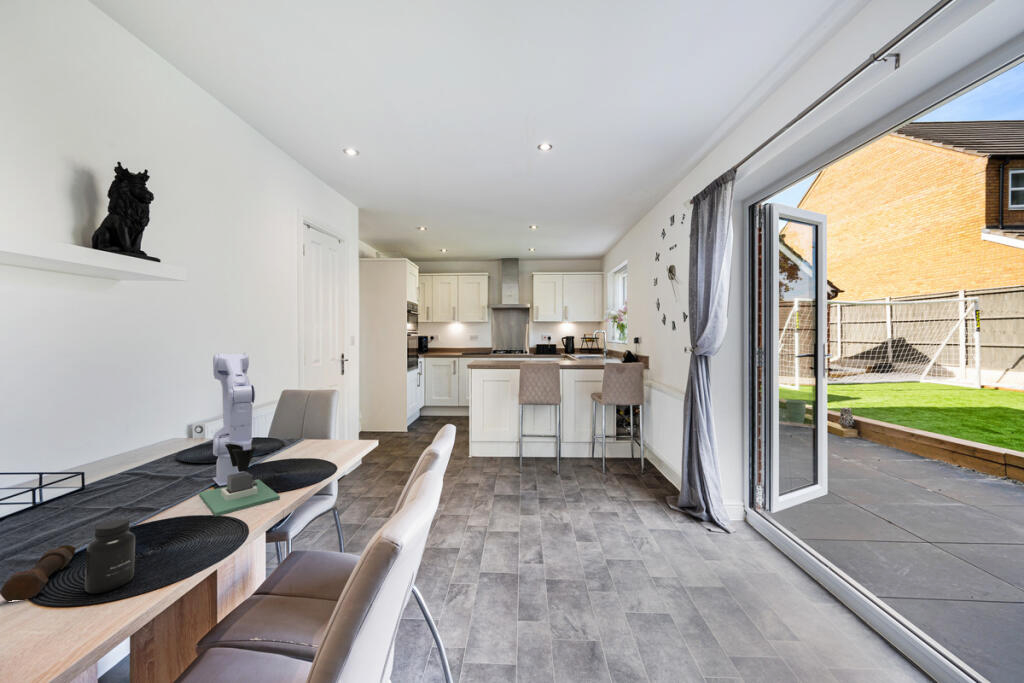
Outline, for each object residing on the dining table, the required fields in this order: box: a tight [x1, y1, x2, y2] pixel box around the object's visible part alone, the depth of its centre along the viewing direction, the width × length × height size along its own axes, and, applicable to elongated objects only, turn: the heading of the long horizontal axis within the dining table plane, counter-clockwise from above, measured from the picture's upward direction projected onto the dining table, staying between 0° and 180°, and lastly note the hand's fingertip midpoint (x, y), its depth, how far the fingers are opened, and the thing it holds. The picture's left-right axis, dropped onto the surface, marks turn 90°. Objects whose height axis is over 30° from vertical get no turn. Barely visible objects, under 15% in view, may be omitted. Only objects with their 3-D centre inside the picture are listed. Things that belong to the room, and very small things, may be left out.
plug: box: [226, 470, 254, 494], centre depth 118 cm, size 4×6×6 cm
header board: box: [198, 478, 280, 517], centre depth 118 cm, size 20×16×3 cm
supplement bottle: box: [84, 518, 136, 594], centre depth 77 cm, size 7×7×12 cm
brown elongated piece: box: [0, 544, 77, 602], centre depth 78 cm, size 6×5×15 cm
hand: (239, 468), depth 118 cm, fingers open, 6 cm apart
